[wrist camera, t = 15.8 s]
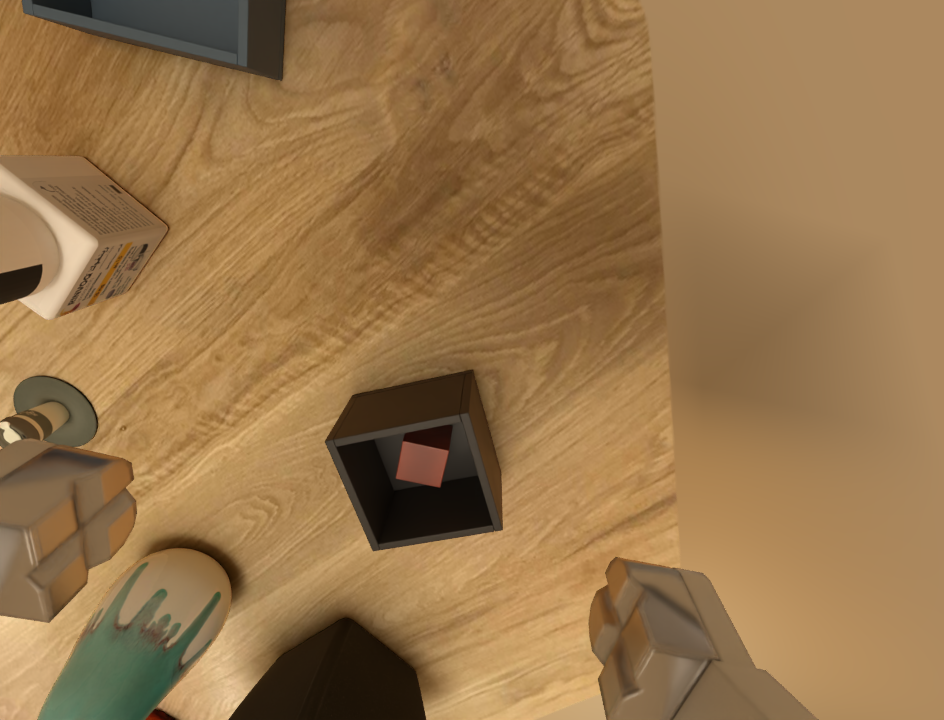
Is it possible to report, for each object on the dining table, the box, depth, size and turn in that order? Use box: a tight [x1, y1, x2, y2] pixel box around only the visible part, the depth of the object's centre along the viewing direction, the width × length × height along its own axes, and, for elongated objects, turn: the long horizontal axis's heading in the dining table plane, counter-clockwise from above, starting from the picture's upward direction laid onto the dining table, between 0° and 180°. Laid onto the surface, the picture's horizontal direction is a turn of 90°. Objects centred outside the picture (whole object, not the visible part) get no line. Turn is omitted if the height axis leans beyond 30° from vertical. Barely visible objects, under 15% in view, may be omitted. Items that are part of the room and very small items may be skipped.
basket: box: [325, 370, 503, 551], centre depth 40 cm, size 11×11×8 cm
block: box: [396, 425, 453, 488], centre depth 41 cm, size 4×4×4 cm
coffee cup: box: [0, 377, 97, 448], centre depth 42 cm, size 12×12×5 cm
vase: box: [37, 548, 232, 720], centre depth 44 cm, size 12×12×18 cm
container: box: [0, 155, 168, 320], centre depth 31 cm, size 8×8×13 cm
